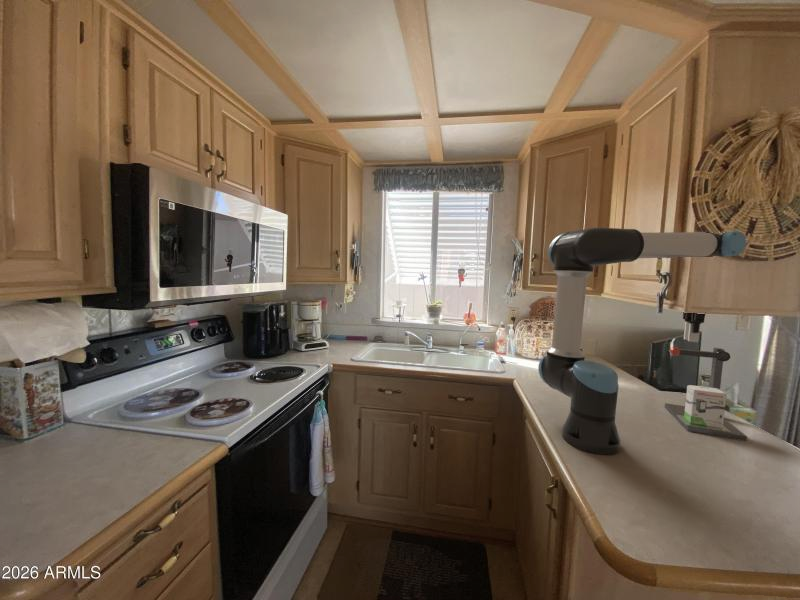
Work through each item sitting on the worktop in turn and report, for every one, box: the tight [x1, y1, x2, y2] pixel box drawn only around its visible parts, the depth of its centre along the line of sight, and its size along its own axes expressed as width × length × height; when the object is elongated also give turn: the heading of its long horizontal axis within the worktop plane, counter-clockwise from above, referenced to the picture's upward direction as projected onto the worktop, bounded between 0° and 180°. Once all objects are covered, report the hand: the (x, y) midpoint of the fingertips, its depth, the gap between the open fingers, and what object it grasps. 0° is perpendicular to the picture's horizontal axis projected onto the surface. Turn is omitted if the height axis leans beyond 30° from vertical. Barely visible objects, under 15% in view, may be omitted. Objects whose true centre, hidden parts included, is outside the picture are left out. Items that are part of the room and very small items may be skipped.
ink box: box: [684, 384, 728, 428], centre depth 106 cm, size 9×5×12 cm, turn 69°
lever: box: [669, 346, 731, 362], centre depth 116 cm, size 3×17×4 cm, turn 67°
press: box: [664, 347, 748, 442], centre depth 111 cm, size 21×14×25 cm
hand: (690, 340), depth 116 cm, fingers open, 3 cm apart
